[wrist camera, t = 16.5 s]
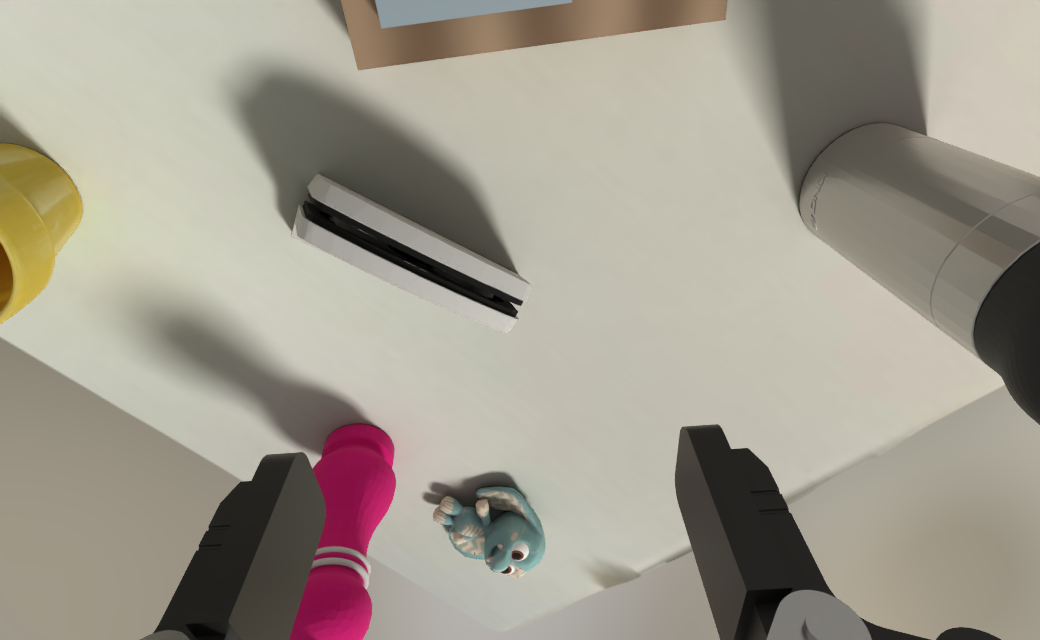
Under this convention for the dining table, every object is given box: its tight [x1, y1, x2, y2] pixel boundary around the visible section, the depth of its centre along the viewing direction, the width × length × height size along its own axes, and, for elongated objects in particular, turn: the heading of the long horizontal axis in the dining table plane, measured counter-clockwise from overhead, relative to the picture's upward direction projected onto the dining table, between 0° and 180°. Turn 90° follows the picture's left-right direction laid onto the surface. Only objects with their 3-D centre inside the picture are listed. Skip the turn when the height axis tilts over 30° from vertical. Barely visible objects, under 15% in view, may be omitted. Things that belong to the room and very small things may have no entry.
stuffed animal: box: [433, 486, 545, 578], centre depth 56 cm, size 11×7×12 cm
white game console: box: [291, 173, 532, 333], centre depth 38 cm, size 17×5×10 cm, turn 58°
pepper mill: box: [289, 424, 396, 640], centre depth 44 cm, size 7×7×20 cm
